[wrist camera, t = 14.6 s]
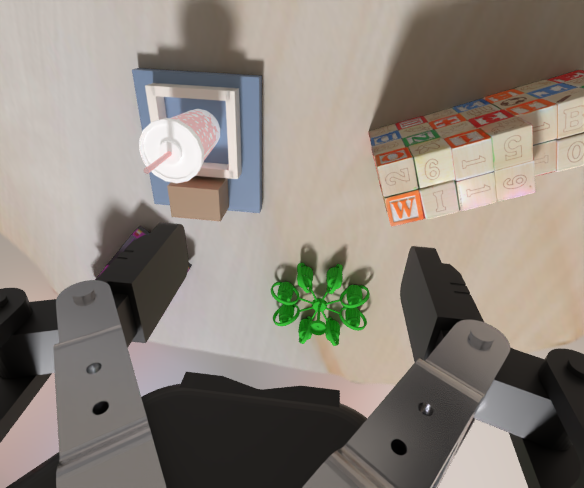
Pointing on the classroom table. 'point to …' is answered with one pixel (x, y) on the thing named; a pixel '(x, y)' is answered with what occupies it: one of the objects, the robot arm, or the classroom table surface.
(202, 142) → the beverage cup
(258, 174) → the blue square tray
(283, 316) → the chandelier
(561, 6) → the classroom table surface
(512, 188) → the stack of blocks
